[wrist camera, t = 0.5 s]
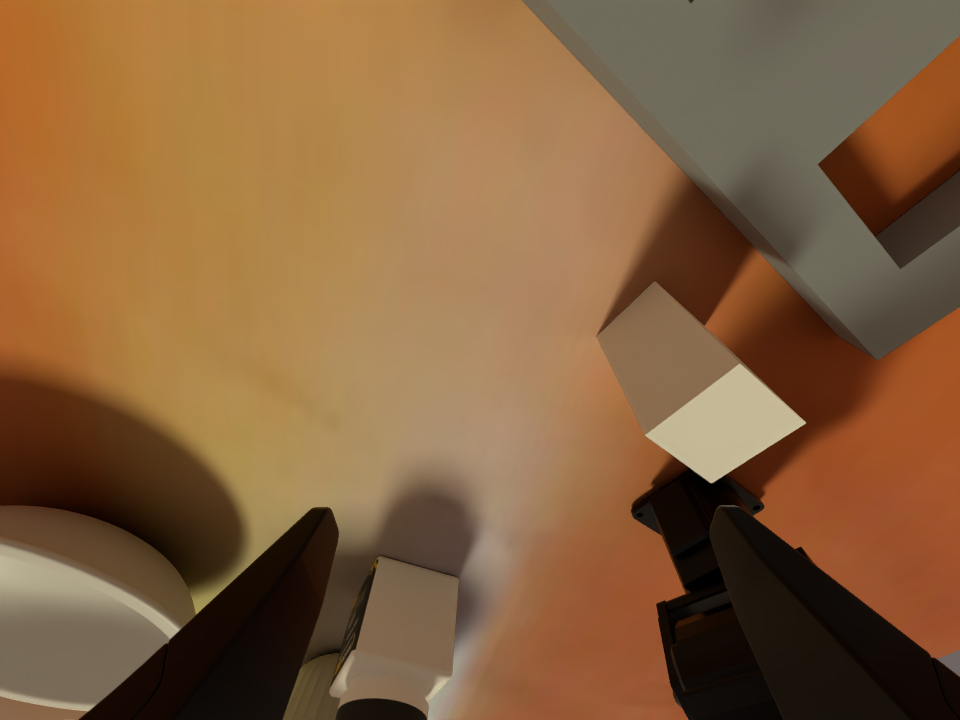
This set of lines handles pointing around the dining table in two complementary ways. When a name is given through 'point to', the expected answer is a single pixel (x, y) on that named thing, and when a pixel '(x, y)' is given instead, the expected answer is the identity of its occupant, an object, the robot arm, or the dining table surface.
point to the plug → (691, 387)
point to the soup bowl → (79, 606)
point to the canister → (314, 691)
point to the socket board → (786, 135)
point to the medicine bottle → (396, 643)
